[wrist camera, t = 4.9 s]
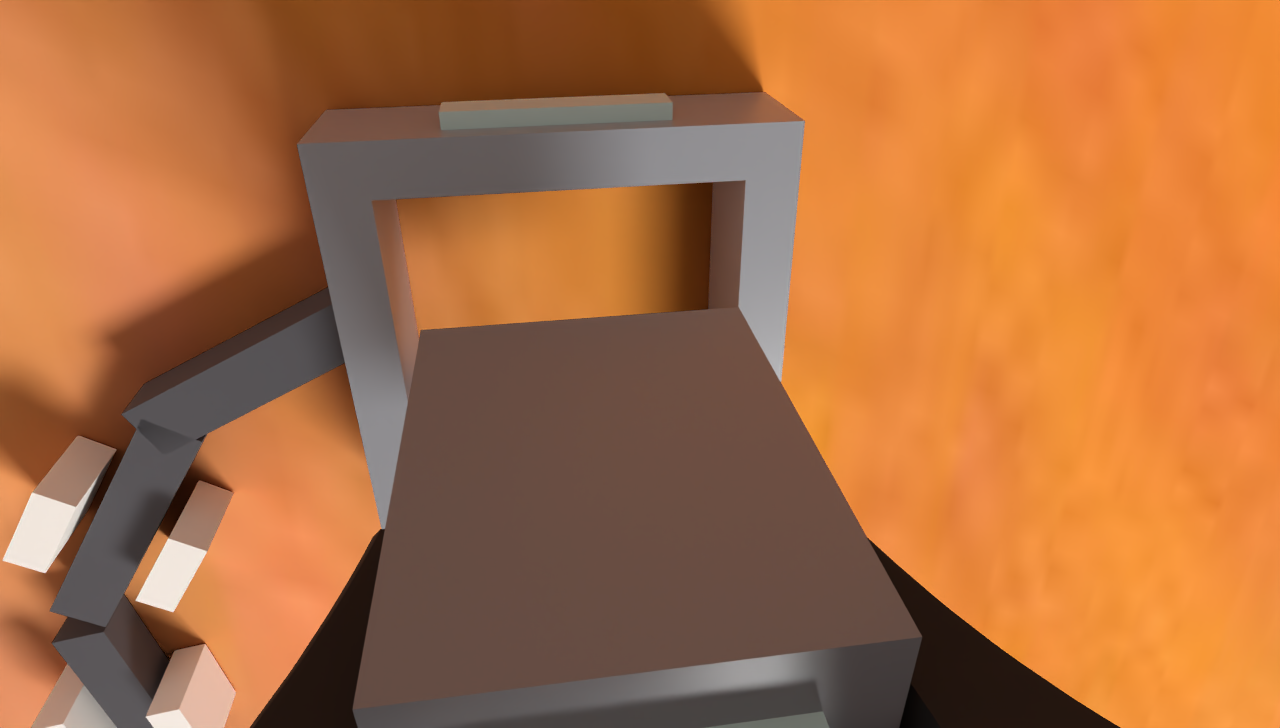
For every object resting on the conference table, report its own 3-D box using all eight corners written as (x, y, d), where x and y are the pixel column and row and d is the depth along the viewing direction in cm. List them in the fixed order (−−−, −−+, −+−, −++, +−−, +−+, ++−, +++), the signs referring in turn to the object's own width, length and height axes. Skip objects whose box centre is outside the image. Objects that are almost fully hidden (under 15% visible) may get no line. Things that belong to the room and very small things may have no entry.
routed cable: (2, 723, 22) (-42, 795, 20) (114, 190, 15) (64, 226, 14) (217, 756, 23) (195, 824, 22) (396, 290, 17) (384, 334, 15)
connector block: (470, 629, 14) (450, 1092, 9) (421, 329, 11) (343, 759, 6) (720, 599, 15) (847, 1018, 9) (738, 307, 12) (945, 678, 6)
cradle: (400, 488, 20) (388, 559, 17) (322, 93, 15) (292, 125, 13) (740, 455, 21) (768, 519, 19) (765, 76, 16) (806, 102, 14)
